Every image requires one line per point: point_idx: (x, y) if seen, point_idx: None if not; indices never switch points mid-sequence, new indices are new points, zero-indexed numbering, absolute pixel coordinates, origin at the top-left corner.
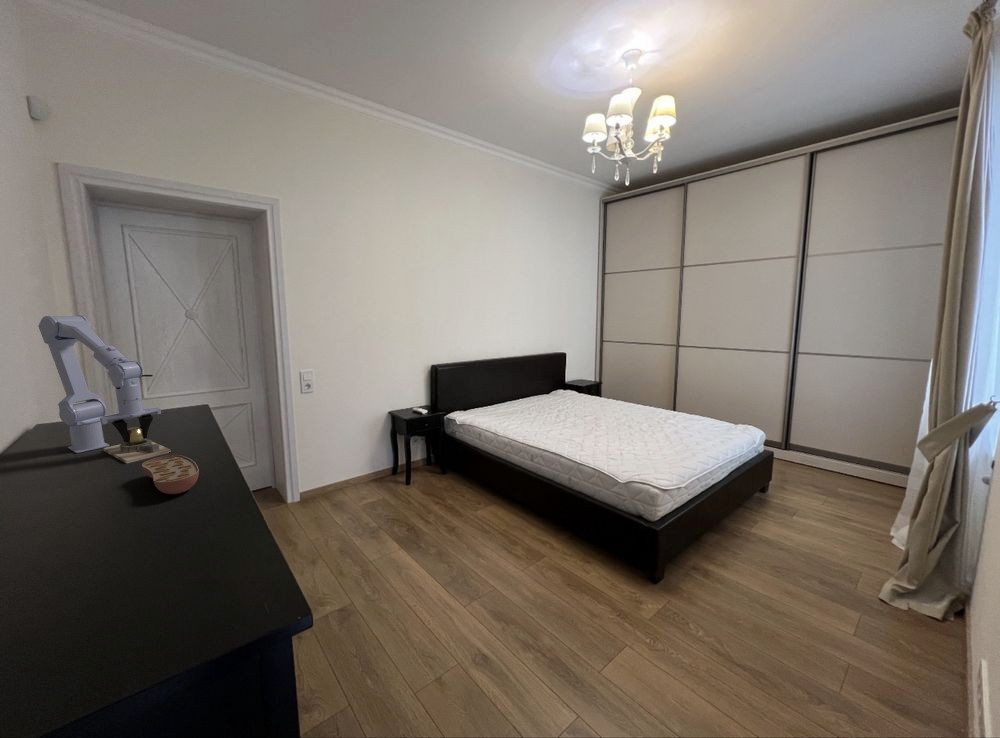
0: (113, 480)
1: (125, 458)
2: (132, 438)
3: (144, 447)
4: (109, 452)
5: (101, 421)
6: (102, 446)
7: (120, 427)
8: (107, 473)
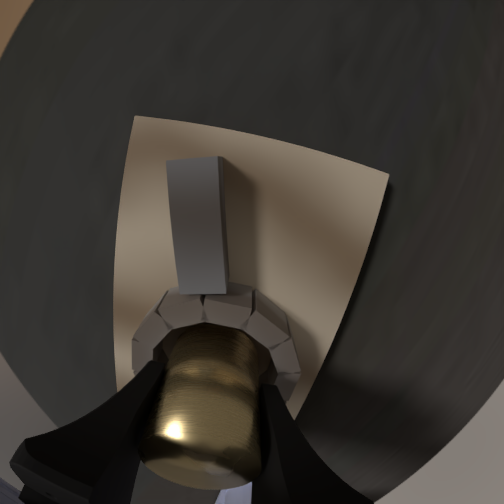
0: (487, 33)
1: (366, 220)
2: (246, 386)
3: (225, 257)
4: (293, 414)
5: None
6: None
7: (344, 490)
8: (475, 128)
